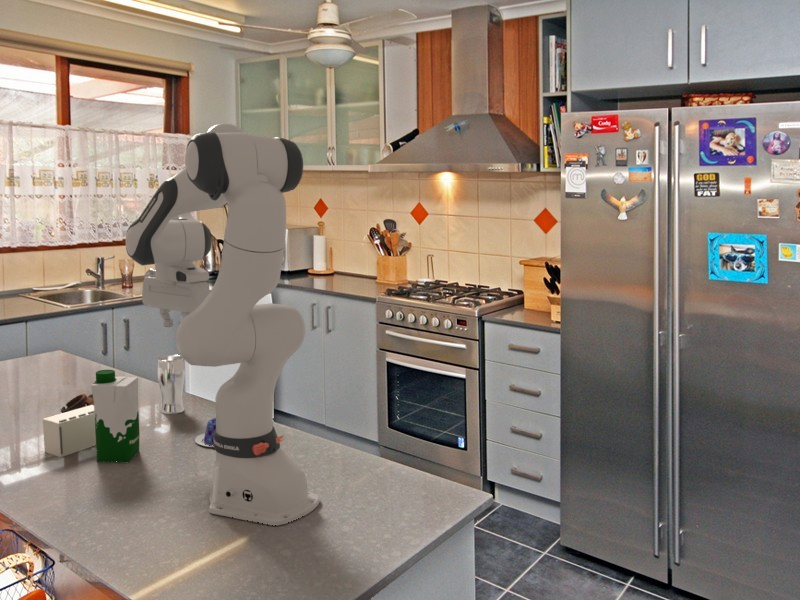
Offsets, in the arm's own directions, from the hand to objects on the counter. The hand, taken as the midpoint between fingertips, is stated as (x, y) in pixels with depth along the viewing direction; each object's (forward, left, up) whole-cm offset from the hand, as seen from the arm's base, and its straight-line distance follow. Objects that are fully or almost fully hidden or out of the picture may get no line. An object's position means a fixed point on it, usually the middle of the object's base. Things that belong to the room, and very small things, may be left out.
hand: (176, 328), depth 181 cm
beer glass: (+16, -12, -27) cm, 34 cm away
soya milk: (0, +18, -27) cm, 33 cm away
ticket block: (+14, +19, -27) cm, 36 cm away
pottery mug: (+28, +6, -28) cm, 40 cm away
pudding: (-11, -3, -28) cm, 30 cm away
